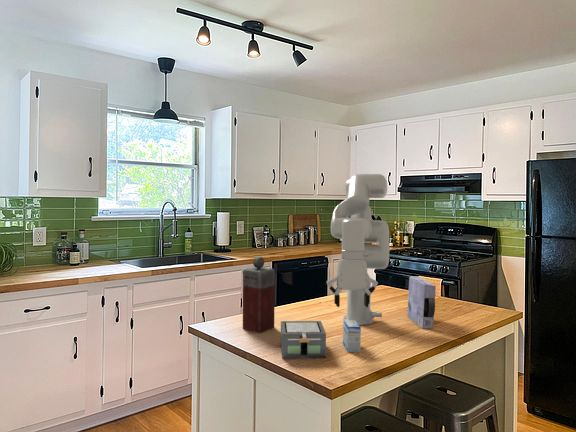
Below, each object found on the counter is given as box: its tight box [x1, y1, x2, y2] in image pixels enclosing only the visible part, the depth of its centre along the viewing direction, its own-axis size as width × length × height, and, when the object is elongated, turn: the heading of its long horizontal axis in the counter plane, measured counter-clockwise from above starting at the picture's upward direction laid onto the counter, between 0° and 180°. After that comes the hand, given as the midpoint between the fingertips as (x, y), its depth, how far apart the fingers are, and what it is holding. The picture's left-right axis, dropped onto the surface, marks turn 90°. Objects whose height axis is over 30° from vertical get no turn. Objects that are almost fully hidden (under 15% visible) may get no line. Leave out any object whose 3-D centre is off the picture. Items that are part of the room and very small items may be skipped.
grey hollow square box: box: [280, 320, 327, 360], centre depth 148 cm, size 14×14×8 cm
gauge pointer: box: [299, 338, 309, 342], centre depth 140 cm, size 3×1×1 cm, turn 92°
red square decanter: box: [242, 256, 276, 334], centre depth 172 cm, size 9×11×28 cm
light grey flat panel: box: [286, 322, 320, 339], centre depth 146 cm, size 11×14×1 cm
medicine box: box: [342, 320, 362, 353], centre depth 150 cm, size 8×4×9 cm, turn 5°
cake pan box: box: [406, 275, 437, 330], centre depth 181 cm, size 19×5×18 cm, turn 4°
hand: (351, 306), depth 149 cm, fingers open, 9 cm apart
